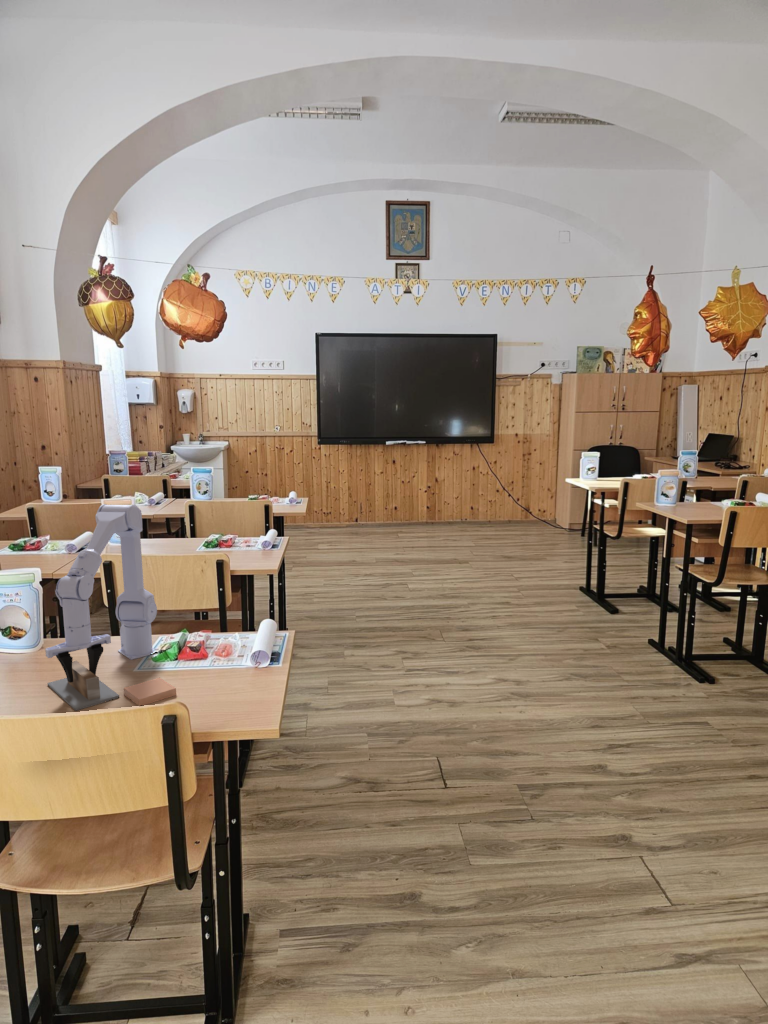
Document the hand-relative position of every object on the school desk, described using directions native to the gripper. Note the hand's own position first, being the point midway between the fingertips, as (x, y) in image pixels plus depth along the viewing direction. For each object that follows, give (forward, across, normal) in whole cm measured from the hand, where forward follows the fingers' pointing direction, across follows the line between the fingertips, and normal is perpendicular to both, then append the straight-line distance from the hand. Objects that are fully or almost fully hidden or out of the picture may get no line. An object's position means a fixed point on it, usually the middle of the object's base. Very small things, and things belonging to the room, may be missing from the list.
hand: (81, 678), depth 158 cm
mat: (+3, 0, 0) cm, 3 cm away
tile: (+3, +11, -9) cm, 15 cm away
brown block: (+3, 0, 0) cm, 3 cm away
